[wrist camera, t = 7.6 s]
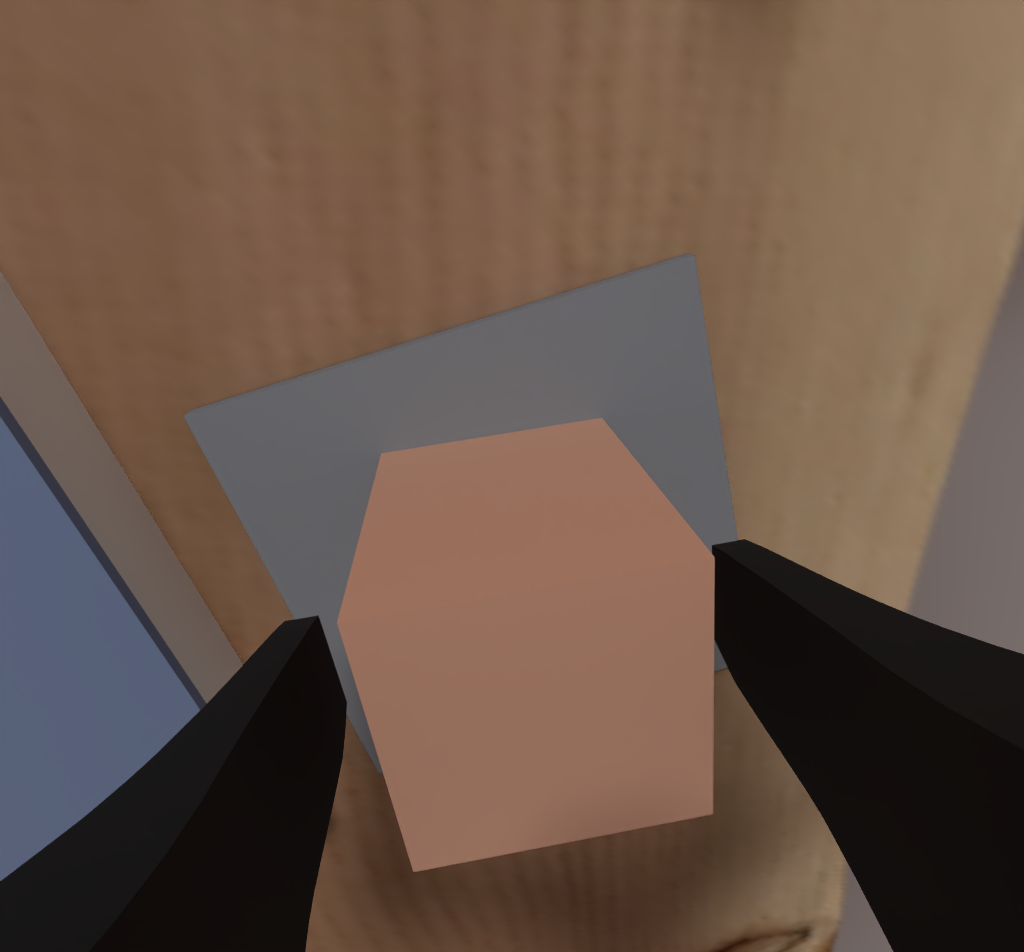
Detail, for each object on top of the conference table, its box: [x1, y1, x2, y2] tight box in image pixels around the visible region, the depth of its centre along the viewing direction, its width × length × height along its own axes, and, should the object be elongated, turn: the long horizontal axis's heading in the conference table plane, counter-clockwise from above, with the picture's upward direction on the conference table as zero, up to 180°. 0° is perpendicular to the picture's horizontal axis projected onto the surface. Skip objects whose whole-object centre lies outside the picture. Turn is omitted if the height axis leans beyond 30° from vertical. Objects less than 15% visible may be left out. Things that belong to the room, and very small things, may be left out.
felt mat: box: [184, 254, 738, 773], centre depth 13 cm, size 10×10×1 cm
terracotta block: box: [337, 418, 715, 872], centre depth 10 cm, size 4×4×6 cm
